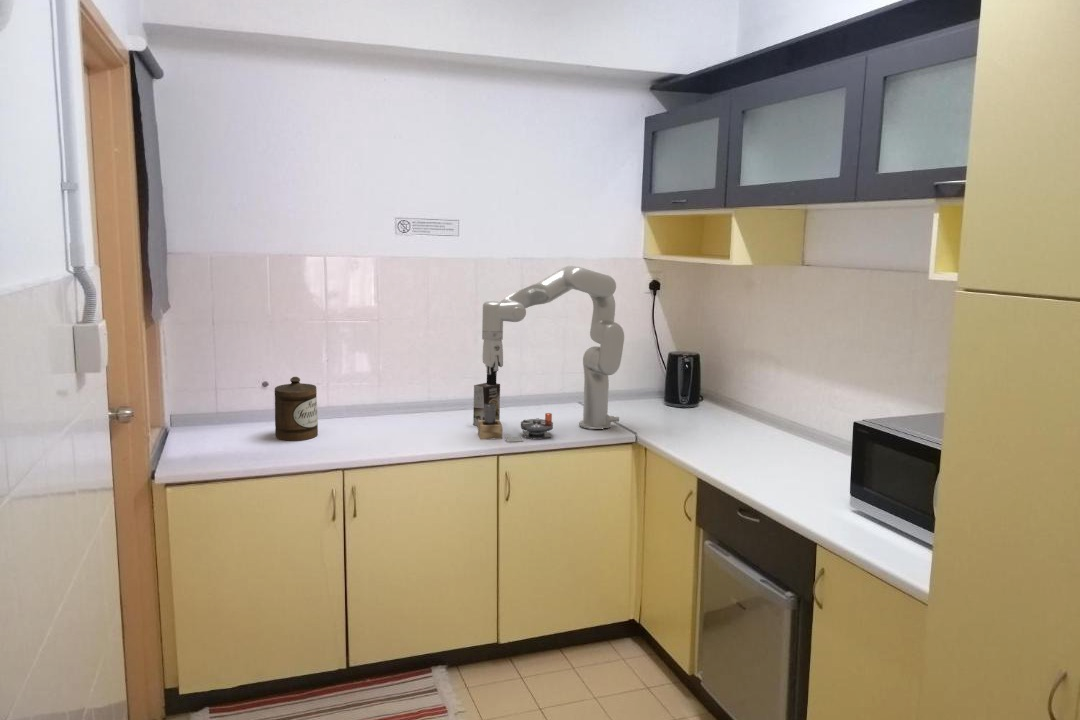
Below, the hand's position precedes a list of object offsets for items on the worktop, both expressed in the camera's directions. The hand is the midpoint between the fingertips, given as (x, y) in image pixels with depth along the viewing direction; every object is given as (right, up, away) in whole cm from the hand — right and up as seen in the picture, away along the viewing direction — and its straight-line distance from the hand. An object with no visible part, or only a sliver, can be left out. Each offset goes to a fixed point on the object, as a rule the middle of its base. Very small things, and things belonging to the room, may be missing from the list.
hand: (491, 384), depth 289 cm
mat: (+8, -20, -1) cm, 22 cm away
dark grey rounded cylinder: (-1, -19, +4) cm, 20 cm away
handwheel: (+17, -16, +5) cm, 24 cm away
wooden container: (-71, -19, -1) cm, 74 cm away
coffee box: (-3, -16, +20) cm, 26 cm away
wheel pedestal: (+17, -19, +6) cm, 26 cm away
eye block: (-1, -19, +4) cm, 20 cm away
